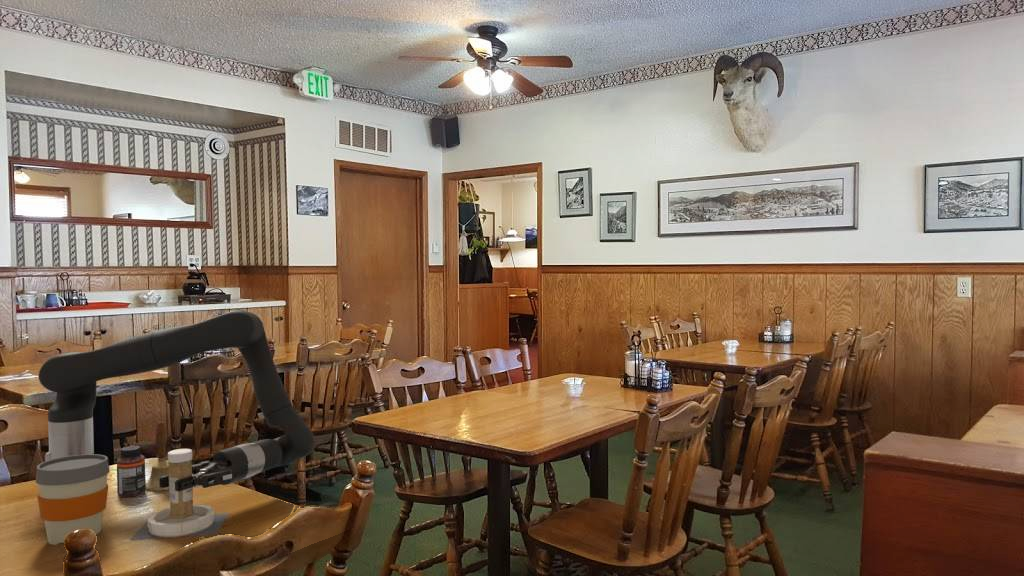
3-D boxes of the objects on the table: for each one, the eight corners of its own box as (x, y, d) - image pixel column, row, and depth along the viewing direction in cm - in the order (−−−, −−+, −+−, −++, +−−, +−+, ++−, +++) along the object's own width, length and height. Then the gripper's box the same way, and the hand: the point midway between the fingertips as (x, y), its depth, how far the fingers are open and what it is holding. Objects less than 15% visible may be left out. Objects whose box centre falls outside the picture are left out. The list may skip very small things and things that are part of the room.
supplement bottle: (124, 491, 168) (123, 444, 168) (150, 490, 168) (149, 444, 168) (112, 499, 162) (111, 451, 162) (139, 498, 163) (138, 450, 162)
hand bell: (186, 485, 173) (185, 421, 172) (151, 493, 166) (150, 427, 166) (172, 479, 178) (170, 417, 178) (137, 487, 172) (136, 422, 171)
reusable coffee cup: (32, 553, 131) (30, 474, 131) (41, 532, 142) (39, 458, 142) (109, 541, 137) (107, 465, 136) (112, 521, 148) (110, 451, 147)
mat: (129, 543, 136) (129, 540, 136) (149, 521, 147) (149, 518, 147) (216, 536, 139) (216, 533, 138) (229, 516, 150) (229, 513, 150)
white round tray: (140, 539, 136) (139, 527, 136) (159, 518, 148) (159, 506, 148) (205, 534, 138) (205, 522, 138) (219, 514, 150) (219, 502, 150)
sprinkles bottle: (195, 516, 142) (193, 451, 142) (171, 521, 140) (169, 455, 139) (191, 510, 146) (190, 446, 146) (167, 514, 144) (166, 450, 143)
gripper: (216, 442, 159) (145, 461, 144) (260, 450, 152) (191, 470, 137) (217, 475, 159) (146, 497, 144) (261, 484, 152) (192, 508, 137)
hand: (168, 484), depth 140 cm, fingers closed on sprinkles bottle, 4 cm apart
